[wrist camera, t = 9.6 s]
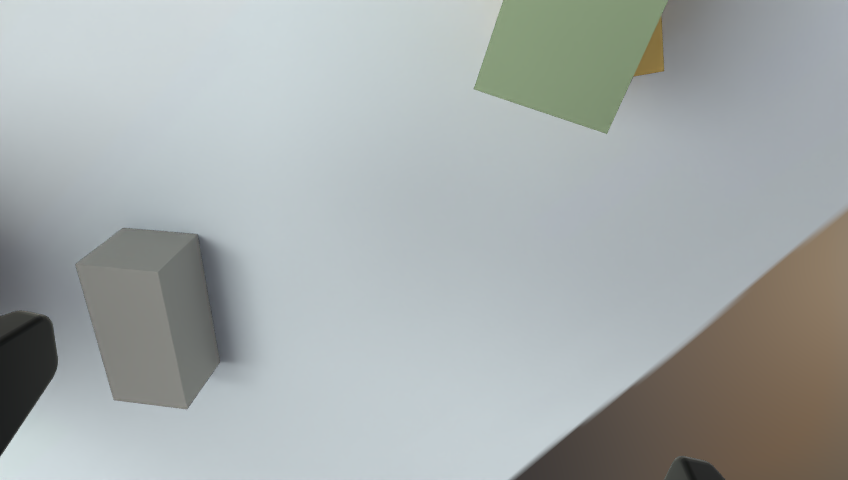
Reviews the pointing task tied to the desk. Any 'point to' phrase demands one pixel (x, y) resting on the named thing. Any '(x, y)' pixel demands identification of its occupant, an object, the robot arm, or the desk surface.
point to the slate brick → (151, 315)
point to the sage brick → (568, 55)
